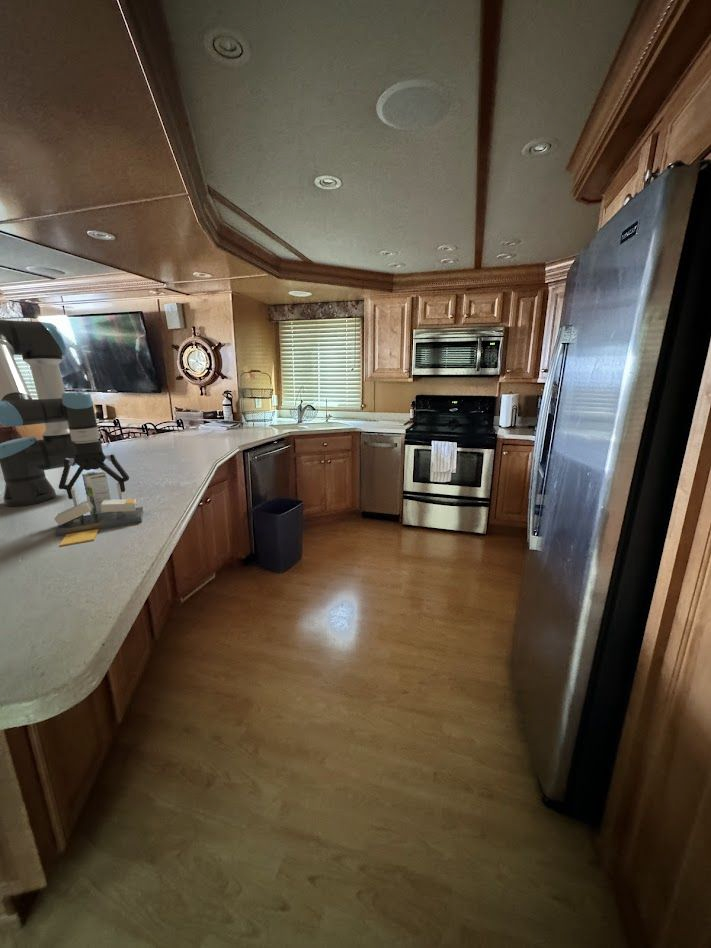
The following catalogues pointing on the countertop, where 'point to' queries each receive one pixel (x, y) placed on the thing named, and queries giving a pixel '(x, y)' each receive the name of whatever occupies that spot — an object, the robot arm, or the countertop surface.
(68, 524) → the breaker panel
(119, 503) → the rocker
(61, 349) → the robot arm
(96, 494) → the syrup box
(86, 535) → the pad
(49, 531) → the countertop surface
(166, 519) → the countertop surface
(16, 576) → the countertop surface
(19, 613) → the countertop surface
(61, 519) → the white flat block
